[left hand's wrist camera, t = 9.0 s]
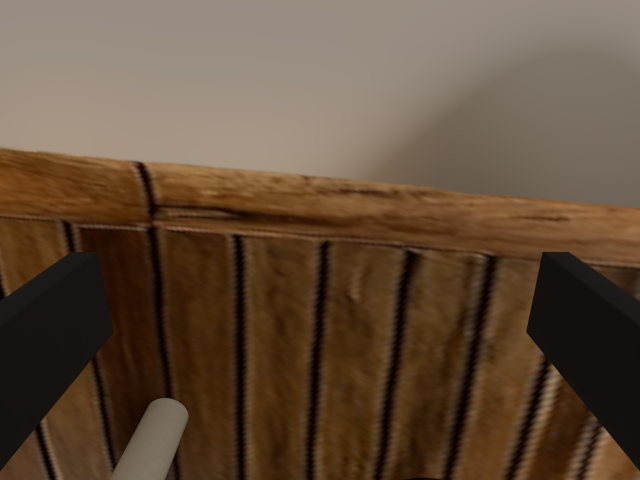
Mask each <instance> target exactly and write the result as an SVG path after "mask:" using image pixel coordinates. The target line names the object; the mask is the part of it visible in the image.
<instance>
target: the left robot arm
mask: <svg viewBox="0 0 640 480" xmlns="http://www.w3.org/2000/svg"><path fill="white" fill-rule="evenodd" d="M113 332H114V331H113V326H112V321H111V316H110V311H109V307H108V302H107V297H106V292H105V287H104V282H103V277H102V273H101V268H100V263H99V258H98V253H97V252H71V253H69V254H68V255H66V256H65V257H63V258H62V259H61V260H59V261H58V262H56V263H55V264H53V265H52V266H50V267H49V268H48V269H46V270H45V271H43V272H42V273H40V274H39V275H37V276H36V277H35V278H33V279H32V280H30V281H29V282H27V283H26V284H24V285H23V286H22V287H20V288H19V289H17V290H16V291H14V292H13V293H11V294H10V295H9V296H7V297H6V298H4V299H3V300H1V301H0V471H1V469H2V468H3V467H4V466H5V464H6V463H7V462H8V461H9V460H10V458H11V457H12V456H13V455H14V453H15V452H16V451H17V450H18V449H19V447H20V446H21V445H22V444H23V442H24V441H25V440H26V439H27V438H28V436H29V435H30V434H31V433H32V431H33V430H34V429H35V428H36V427H37V425H38V424H39V423H40V422H41V420H42V419H43V418H44V417H45V416H46V414H47V413H48V412H49V411H50V409H51V408H52V407H53V406H54V405H55V403H56V402H57V401H58V400H59V398H60V397H61V396H62V395H63V394H64V392H65V391H66V390H67V389H68V387H69V386H70V385H71V384H72V383H73V381H74V380H75V379H76V378H77V376H78V375H79V374H80V373H81V372H82V370H83V369H84V368H85V367H86V365H87V364H88V363H89V362H90V361H91V359H92V358H93V357H94V356H95V354H96V353H97V352H98V351H99V350H100V348H101V347H102V346H103V345H104V343H105V342H106V341H107V340H108V339H109V337H110V336H111V335H112V334H113ZM526 332H527V334H528V335H529V336H530V337H531V339H532V340H533V341H534V342H535V343H536V345H537V346H538V347H539V348H540V350H541V351H542V352H543V353H544V354H545V356H546V357H547V358H548V359H549V361H550V362H551V363H552V364H553V365H554V367H555V368H556V369H557V370H558V372H559V373H560V374H561V375H562V376H563V378H564V379H565V380H566V381H567V383H568V384H569V385H570V386H571V387H572V389H573V390H574V391H575V392H576V394H577V395H578V396H579V397H580V398H581V400H582V401H583V402H584V403H585V405H586V406H587V407H588V408H589V409H590V411H591V412H592V413H593V414H594V416H595V417H596V418H597V419H598V420H599V422H600V423H601V424H602V425H603V427H604V428H605V429H606V430H607V431H608V433H609V434H610V435H611V436H612V438H613V439H614V440H615V441H616V442H617V444H618V445H619V446H620V447H621V449H622V450H623V451H624V452H625V453H626V455H627V456H628V457H629V458H630V460H631V461H632V462H633V463H634V464H635V466H636V467H637V468H638V469H639V471H640V301H639V300H637V299H636V298H634V297H633V296H631V295H630V294H629V293H627V292H626V291H624V290H623V289H621V288H620V287H618V286H617V285H616V284H614V283H613V282H611V281H610V280H608V279H607V278H605V277H604V276H603V275H601V274H600V273H598V272H597V271H595V270H594V269H592V268H591V267H590V266H588V265H587V264H585V263H584V262H582V261H581V260H579V259H578V258H577V257H575V256H574V255H572V254H571V253H569V252H543V253H542V258H541V263H540V268H539V273H538V277H537V282H536V287H535V292H534V297H533V302H532V307H531V311H530V316H529V321H528V326H527V331H526ZM418 480H431V479H418Z"/></svg>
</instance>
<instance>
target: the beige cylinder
mask: <svg viewBox="0 0 640 480" xmlns="http://www.w3.org/2000/svg"><path fill="white" fill-rule="evenodd" d="M188 418H189V416H188V412H187V409H186V408H185V407H184V406H183V405H182V404H181V403H180V402H178V401H176V400H174V399H170V398H160V399H157V400H154V401H153V402H151V403H150V404H149V406H148V407H147V409H146V411H145V413H144V415H143V417H142V419H141V420H140V422H139V424H138V426H137V428H136V430H135V432H134V434H133V436H132V437H131V439H130V441H129V443H128V445H127V447H126V449H125V451H124V453H123V455H122V456H121V458H120V460H119V462H118V464H117V466H116V468H115V470H114V472H113V474H112V475H111V477H110V479H109V480H165V479H166V476H167V474H168V471H169V468H170V466H171V463H172V461H173V458H174V455H175V453H176V450H177V448H178V445H179V443H180V440H181V437H182V435H183V432H184V430H185V427H186V424H187V422H188Z"/></svg>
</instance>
